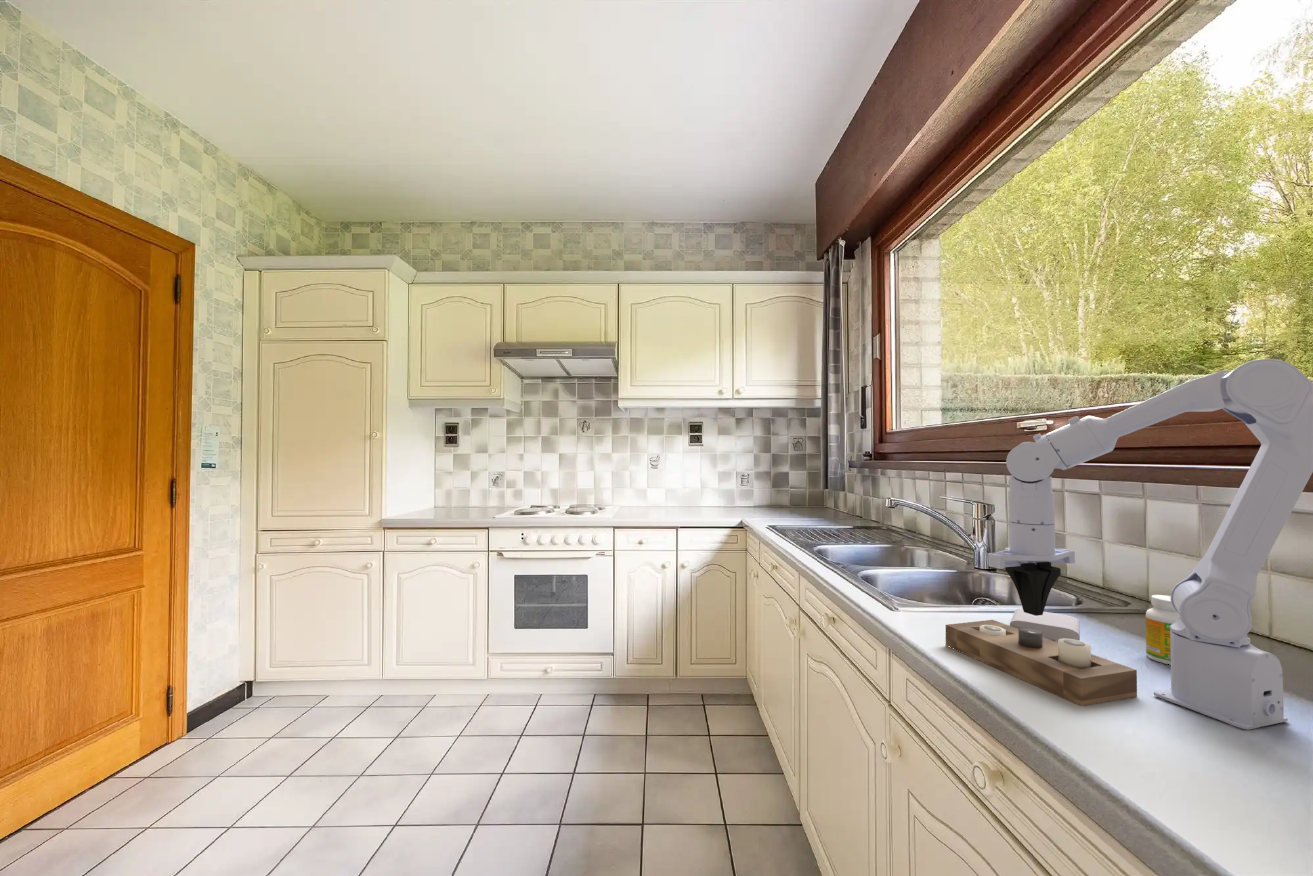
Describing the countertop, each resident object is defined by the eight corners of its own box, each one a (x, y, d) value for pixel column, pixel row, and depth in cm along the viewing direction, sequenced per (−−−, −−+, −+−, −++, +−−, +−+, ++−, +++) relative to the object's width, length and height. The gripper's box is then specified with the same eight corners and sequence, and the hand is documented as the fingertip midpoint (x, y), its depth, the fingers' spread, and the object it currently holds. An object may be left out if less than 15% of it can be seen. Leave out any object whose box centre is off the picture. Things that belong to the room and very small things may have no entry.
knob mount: (1137, 696, 72) (1136, 669, 72) (1081, 705, 69) (1081, 678, 69) (992, 640, 93) (992, 619, 93) (945, 645, 90) (945, 624, 91)
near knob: (1097, 669, 74) (1097, 645, 74) (1078, 672, 73) (1077, 648, 73) (1070, 659, 77) (1070, 636, 77) (1051, 661, 76) (1051, 639, 76)
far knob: (1011, 650, 86) (1011, 630, 86) (993, 653, 85) (993, 632, 85) (991, 642, 90) (991, 623, 90) (974, 645, 89) (974, 625, 89)
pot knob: (1047, 647, 80) (1047, 633, 80) (1032, 649, 80) (1031, 635, 80) (1028, 640, 83) (1028, 627, 83) (1013, 642, 82) (1013, 629, 82)
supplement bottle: (1164, 666, 82) (1163, 602, 82) (1137, 653, 88) (1136, 593, 88) (1203, 668, 82) (1202, 603, 82) (1173, 654, 87) (1173, 594, 87)
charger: (1079, 635, 97) (1079, 660, 85) (1018, 624, 102) (1009, 647, 91) (1079, 608, 97) (1079, 630, 85) (1017, 599, 102) (1009, 618, 91)
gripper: (1042, 517, 87) (1044, 602, 87) (970, 521, 83) (972, 609, 83) (1088, 523, 80) (1090, 615, 80) (1011, 527, 77) (1013, 623, 76)
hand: (1033, 613), depth 81 cm, fingers closed
